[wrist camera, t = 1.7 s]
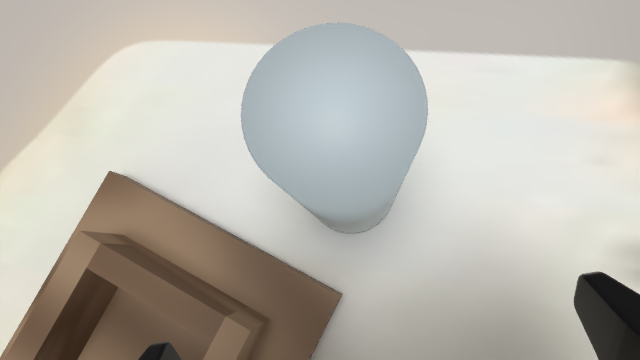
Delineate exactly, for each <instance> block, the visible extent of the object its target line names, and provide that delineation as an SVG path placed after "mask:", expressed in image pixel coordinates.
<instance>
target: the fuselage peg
mask: <svg viewBox="0 0 640 360" xmlns="http://www.w3.org/2000/svg"><path fill="white" fill-rule="evenodd" d="M427 116H428V101H427V95H426V89H425V86H424V83H423V80H422V77H421V75H420V73H419V71H418V69H417V67H416V65H415V64H414V62H413V61H412V59H411V58H410V57H409V56H408V55H407V53H406V52H405V51H404V50H403V49H402V48H401V47H399V45H397V44H396V43H395V42H394V41H393V40H391V39H389V38H388V37H386V36H385V35H383V34H381V33H379V32H377V31H375V30H372V29H369V28H367V27H364V26H360V25H355V24H347V23H327V24H320V25H315V26H311V27H308V28H304V29H302V30H300V31H297V32H295V33H293V34H291V35H289V36H288V37H286V38H284V39H283V40H281V41H280V42H279V43H277V44H276V45H274V46H273V47H272V48H271V49H270V50H269V51H268V52H267V53H266V54H265V55H264V56H263V58H262V59H261V60H260V61H259V62H258V64H257V66H256V67H255V69H254V70H253V72H252V74H251V76H250V78H249V80H248V82H247V85H246V88H245V91H244V95H243V100H242V107H241V122H242V130H243V135H244V139H245V142H246V145H247V147H248V150H249V152H250V154H251V156H252V157H253V159H254V161H255V162H256V164H257V165H258V166H259V168H260V169H261V170H262V171H263V172H264V173H265V174H266V175H267V177H268V178H270V179H271V180H272V181H273V182H274V183H276V184H277V185H278V186H279V187H280V188H282V189H283V190H284V191H285V192H287V193H288V194H289V195H290V196H291V197H293V198H294V199H295V200H296V201H298V202H299V203H300V204H301V205H302V206H304V207H305V208H306V209H307V210H308V211H310V212H311V213H312V214H313V215H315V216H316V217H317V218H318V219H319V220H321V221H322V222H323V223H324V224H326V225H327V226H328V227H330V228H332V229H334V230H336V231H339V232H343V233H360V232H364V231H366V230H369V229H371V228H373V227H374V226H376V225H377V224H378V223H380V222H381V221H382V220H383V218H384V217H385V216H386V215H387V213H388V211H389V209H390V207H391V205H392V203H393V201H394V199H395V197H396V195H397V193H398V190H399V188H400V186H401V184H402V182H403V180H404V178H405V176H406V174H407V172H408V170H409V168H410V165H411V163H412V161H413V159H414V157H415V155H416V153H417V151H418V149H419V146H420V144H421V142H422V139H423V137H424V133H425V129H426V125H427Z"/></svg>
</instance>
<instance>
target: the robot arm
mask: <svg viewBox="0 0 640 360" xmlns="http://www.w3.org/2000/svg"><path fill="white" fill-rule="evenodd" d="M574 306H575V309H576V312H577V314H578V316H579V318H580V320H581V322H582V325H583V327H584V329H585V331H586V333H587V335H588V337H589V340H590V342H591V344H592V346H593V348H594V350H595V352H596V355H597V357H598V359H599V360H640V294H638V293H637V292H635V291H633V290H632V289H630V288H628V287H627V286H625V285H623V284H622V283H620V282H618V281H617V280H615V279H613V278H612V277H610V276H608V275H607V274H605V273H602V272H592V273H585V274H581V275H580V276H579V278H578V281H577V286H576V291H575V296H574ZM138 360H182V359H181V358H180V356H179V355H178V353H177V352H176V350H175V348H174V347H173V345H172V344H171V343H170V342H168V341H164V342H158V343H153V344H151V345H150V346H148V347H147V349H146V350H145V351H144V352H143V354H142V355H141V356H140V357H139V359H138Z"/></svg>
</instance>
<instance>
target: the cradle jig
mask: <svg viewBox="0 0 640 360" xmlns="http://www.w3.org/2000/svg"><path fill="white" fill-rule="evenodd" d="M341 295H342V294H341V293H339V292H338V291H336V290H334V289H332V288H330V287H328V286H326V285H325V284H323V283H321V282H319V281H317V280H315V279H314V278H312V277H310V276H308V275H306V274H304V273H303V272H301V271H299V270H297V269H295V268H293V267H291V266H290V265H288V264H286V263H284V262H282V261H280V260H279V259H277V258H275V257H273V256H271V255H269V254H268V253H266V252H264V251H262V250H260V249H258V248H256V247H255V246H253V245H251V244H249V243H247V242H245V241H244V240H242V239H240V238H238V237H236V236H234V235H233V234H231V233H229V232H227V231H225V230H223V229H222V228H220V227H218V226H216V225H214V224H212V223H210V222H209V221H207V220H205V219H203V218H201V217H199V216H198V215H196V214H194V213H192V212H190V211H188V210H187V209H185V208H183V207H181V206H179V205H177V204H175V203H174V202H172V201H170V200H168V199H166V198H164V197H163V196H161V195H159V194H157V193H155V192H153V191H152V190H150V189H148V188H146V187H144V186H142V185H140V184H139V183H137V182H135V181H133V180H131V179H129V178H128V177H126V176H123V175H120V174H117V173H115V172H112V171H109V172H108V174H107V176H106V177H105V179H104V181H103V183H102V184H101V186H100V188H99V189H98V191H97V193H96V195H95V196H94V198H93V200H92V201H91V203H90V205H89V207H88V208H87V210H86V212H85V213H84V215H83V217H82V219H81V220H80V222H79V224H78V225H77V227H76V229H75V231H74V232H73V234H72V236H71V237H70V239H69V241H68V242H67V244H66V246H65V248H64V249H63V251H62V253H61V254H60V256H59V258H58V260H57V261H56V263H55V265H54V266H53V268H52V270H51V272H50V273H49V275H48V277H47V278H46V280H45V282H44V284H43V285H42V287H41V289H40V290H39V292H38V294H37V296H36V297H35V299H34V301H33V302H32V304H31V306H30V308H29V309H28V311H27V313H26V314H25V316H24V318H23V320H22V321H21V323H20V325H19V326H18V328H17V330H16V331H15V333H14V335H13V337H12V338H11V340H10V342H9V343H8V345H7V347H6V349H5V350H4V352H3V354H2V355H1V357H0V360H138V359H139V357H140V356H141V355H142V354H143V352H144V351H145V350H146V349H147V347H148V346H150V345H151V344H153V343H158V342H164V341H168V342H170V343H171V344H172V345H173V347H174V348H175V350H176V352H177V353H178V355H179V356H180V358H181V359H182V360H309V359H310V357H311V355H312V353H313V351H314V349H315V347H316V345H317V343H318V341H319V339H320V337H321V335H322V333H323V331H324V329H325V327H326V325H327V323H328V321H329V319H330V317H331V315H332V313H333V311H334V309H335V307H336V305H337V303H338V301H339V299H340V297H341Z"/></svg>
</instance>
